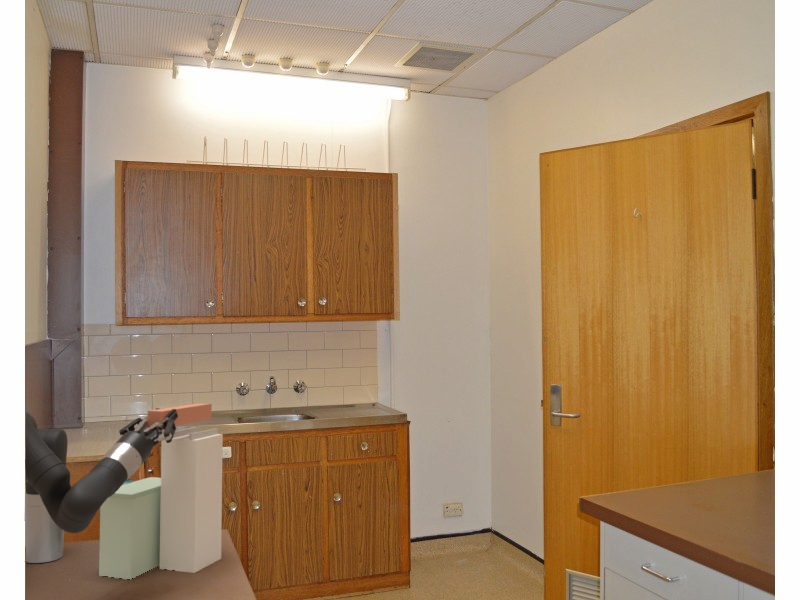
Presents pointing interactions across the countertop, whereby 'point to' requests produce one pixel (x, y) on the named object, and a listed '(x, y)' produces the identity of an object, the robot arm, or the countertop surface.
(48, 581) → the countertop surface
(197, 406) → the long salmon orange block
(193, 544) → the stand
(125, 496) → the pale mint green block
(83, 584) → the countertop surface
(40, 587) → the countertop surface
